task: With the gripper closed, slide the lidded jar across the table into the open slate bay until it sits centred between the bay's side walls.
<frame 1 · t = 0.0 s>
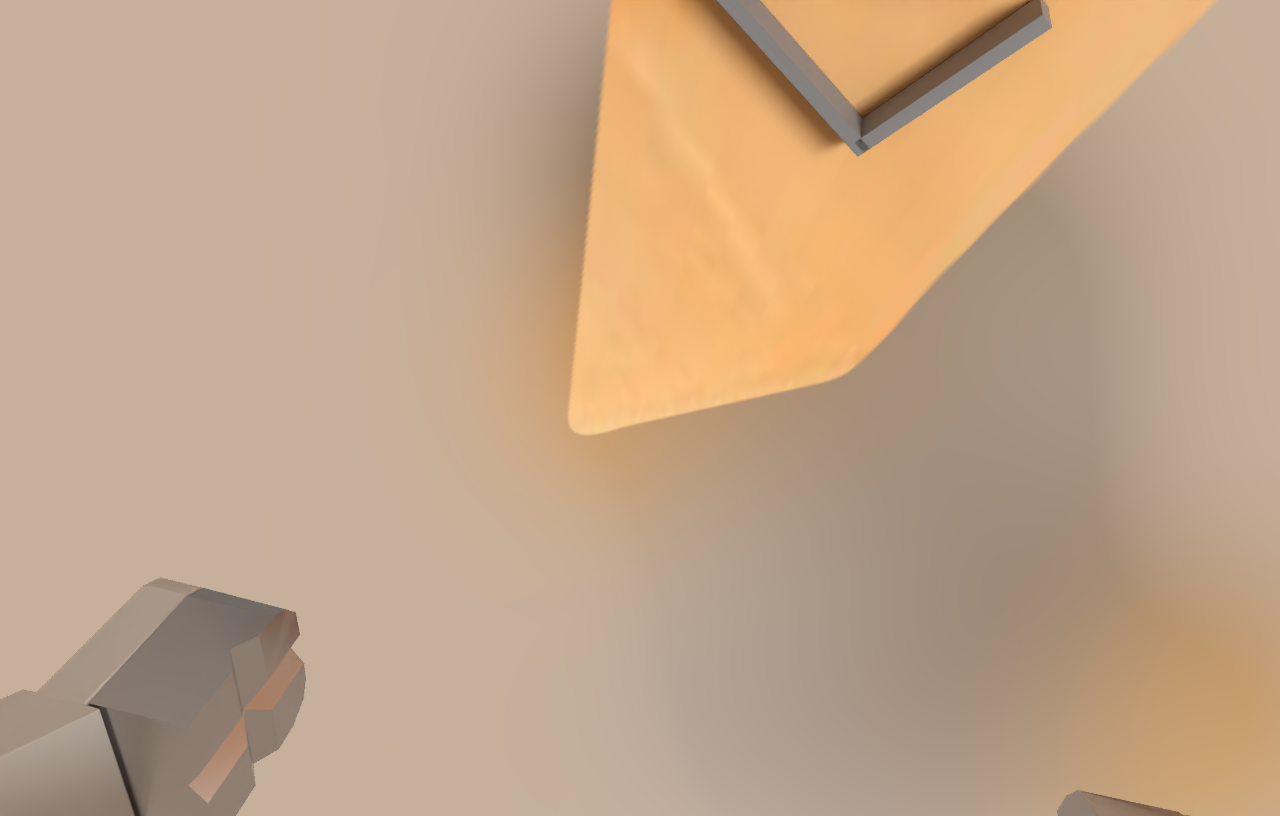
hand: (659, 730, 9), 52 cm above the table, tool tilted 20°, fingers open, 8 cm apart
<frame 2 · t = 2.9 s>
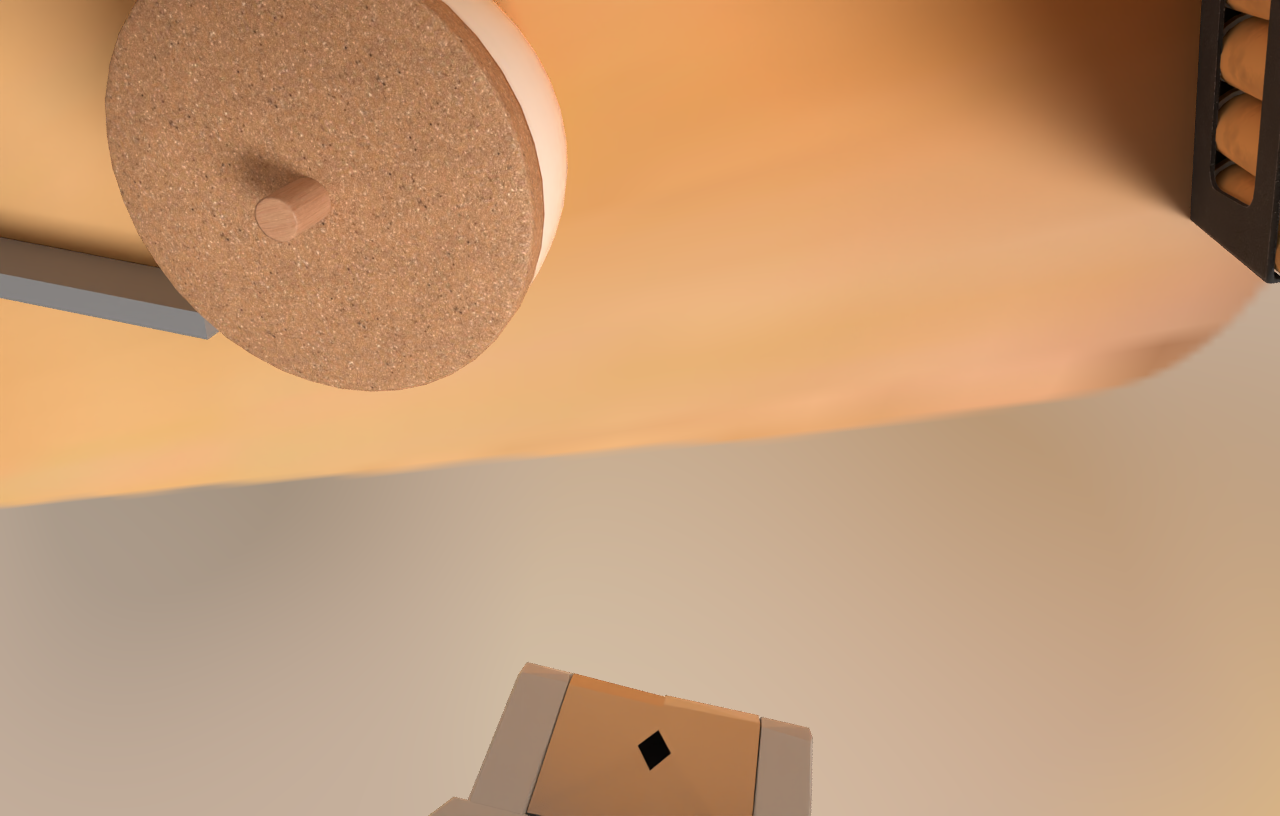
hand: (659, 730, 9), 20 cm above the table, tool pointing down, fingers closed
ammunition clip: (1239, 9, 22), on the table
lidded jar: (442, 119, 27), on the table
slate bay: (31, 52, 28), on the table
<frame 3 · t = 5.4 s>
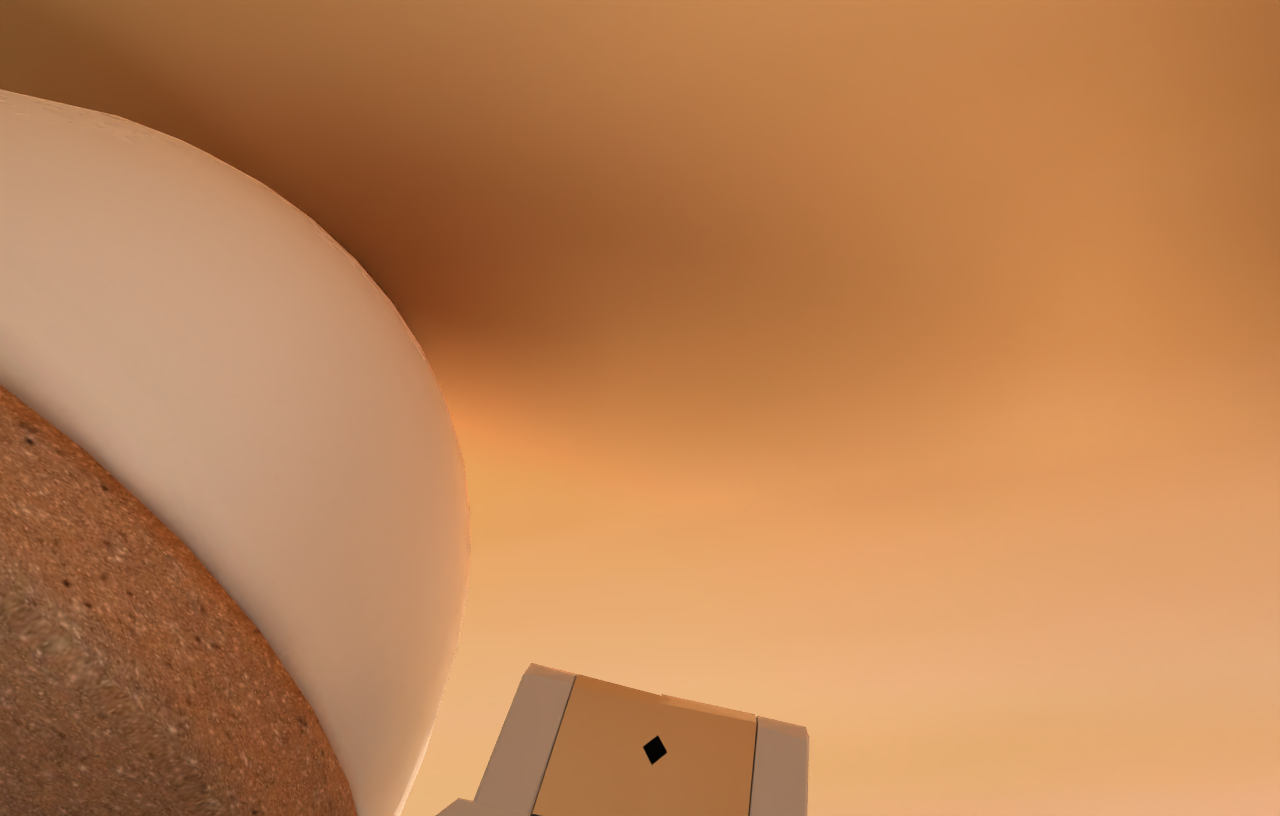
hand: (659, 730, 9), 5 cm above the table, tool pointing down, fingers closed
lidded jar: (250, 365, 14), on the table, touching gripper
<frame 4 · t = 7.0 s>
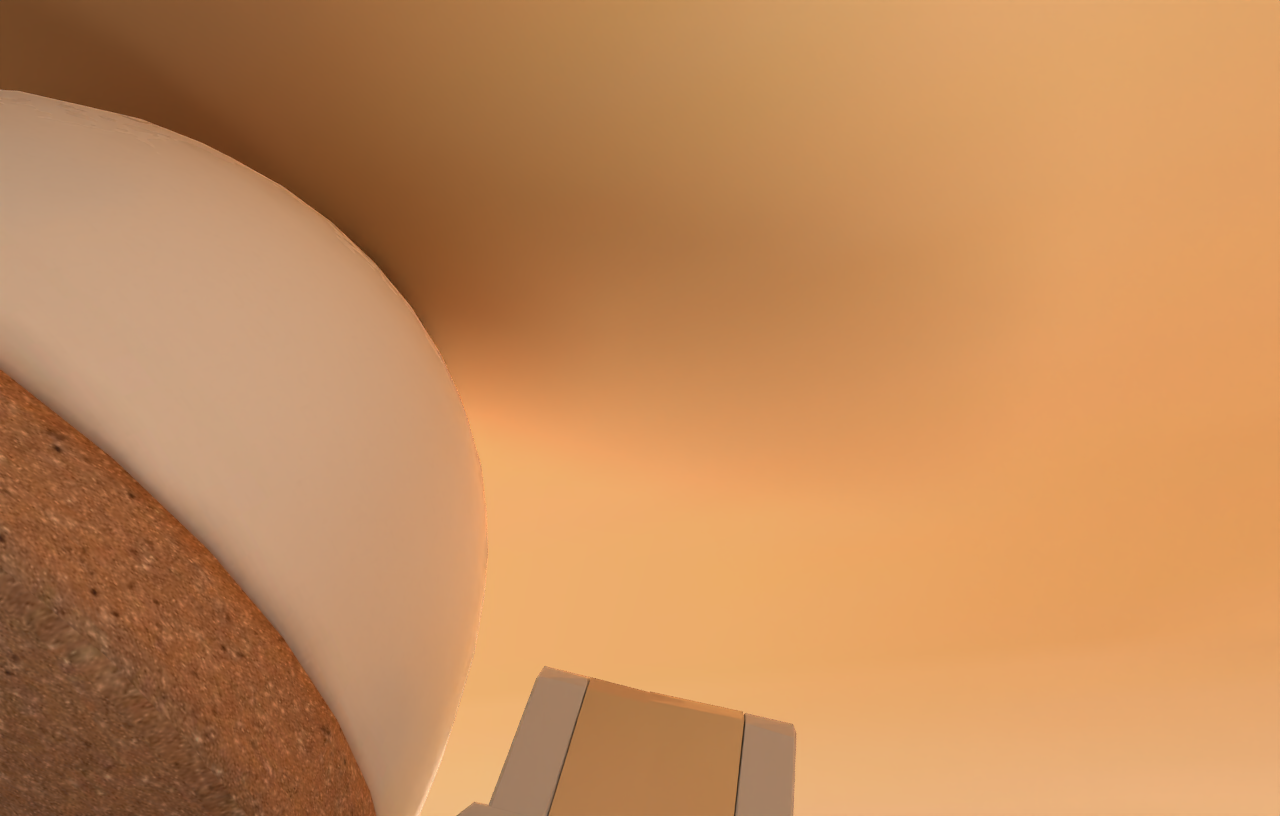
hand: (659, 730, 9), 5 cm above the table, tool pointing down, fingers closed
lidded jar: (266, 366, 14), on the table, touching gripper
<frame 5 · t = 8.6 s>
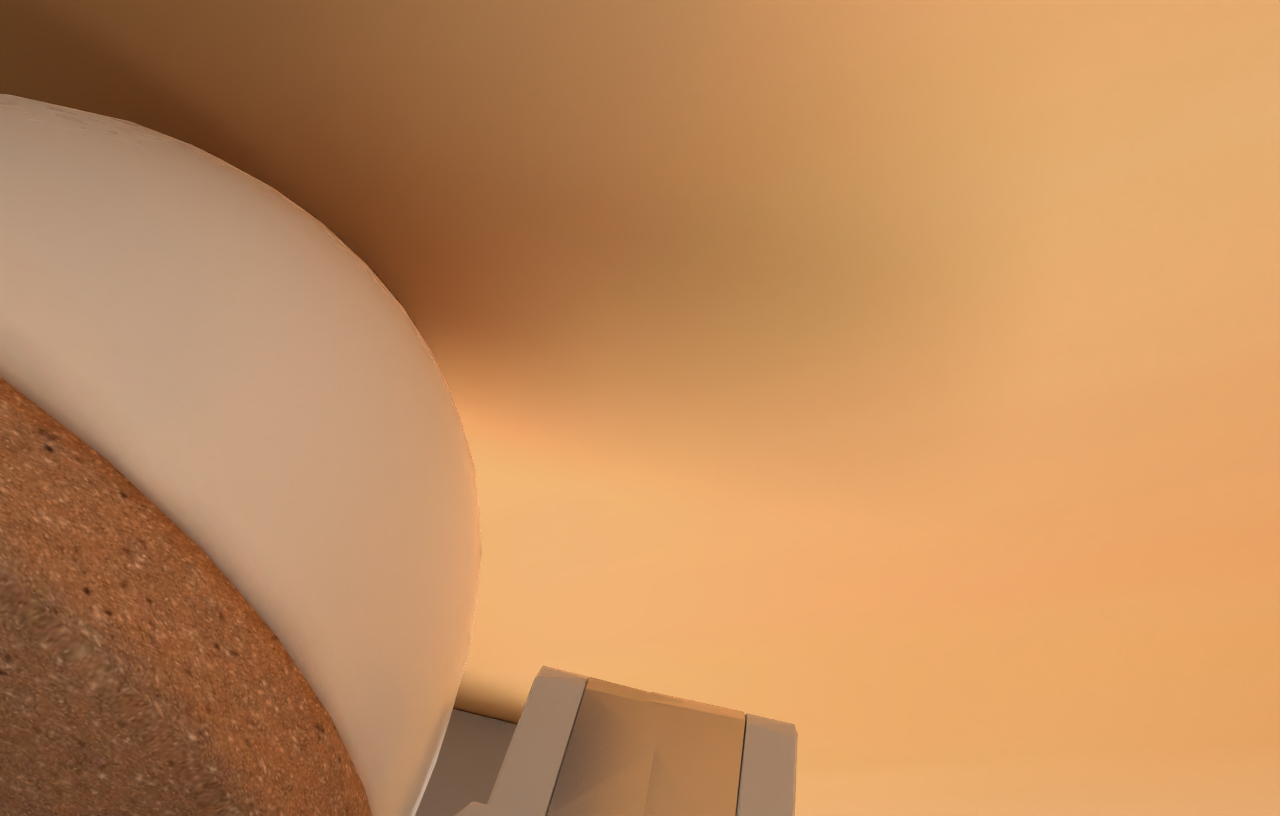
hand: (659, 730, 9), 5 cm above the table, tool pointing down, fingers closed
lidded jar: (258, 369, 14), on the table, touching gripper
slate bay: (262, 370, 14), on the table
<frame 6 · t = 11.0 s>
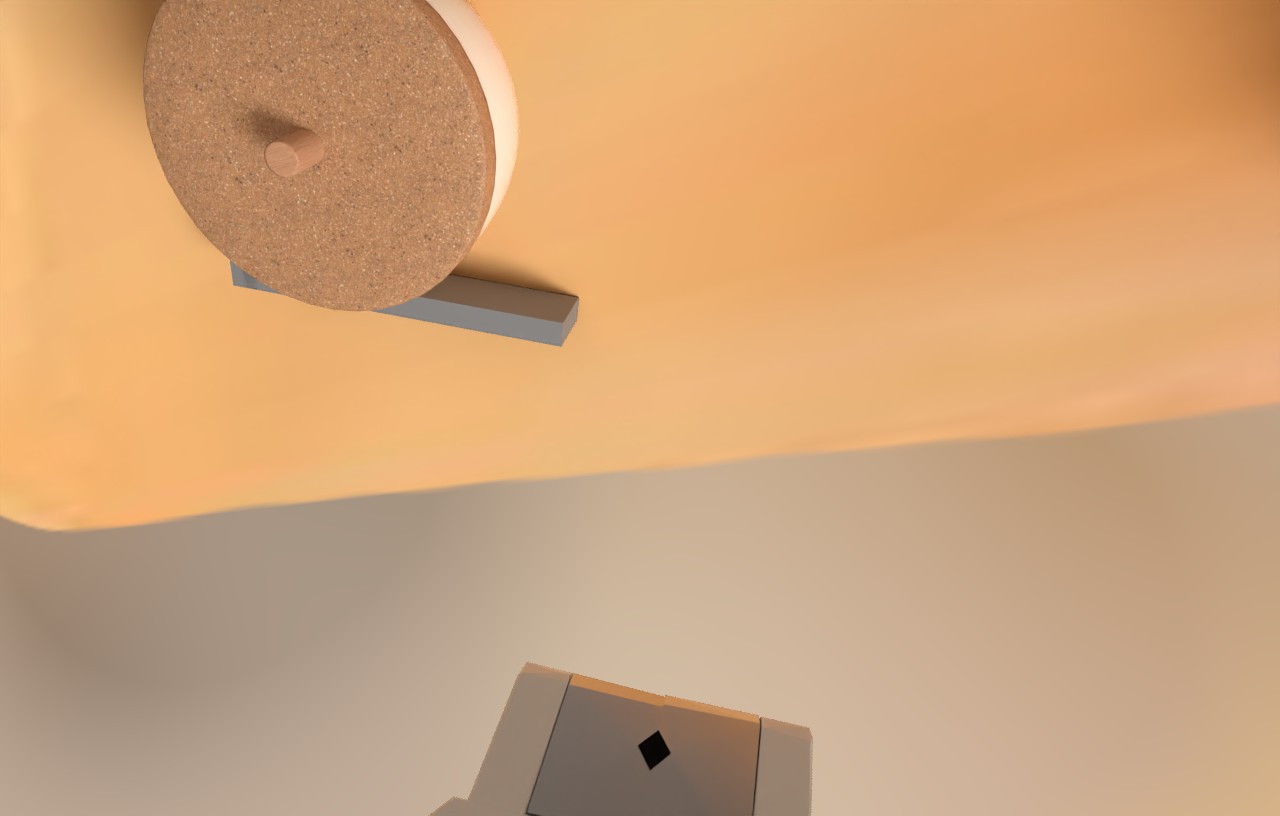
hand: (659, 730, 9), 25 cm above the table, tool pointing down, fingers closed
lidded jar: (418, 94, 32), on the table
slate bay: (421, 92, 32), on the table
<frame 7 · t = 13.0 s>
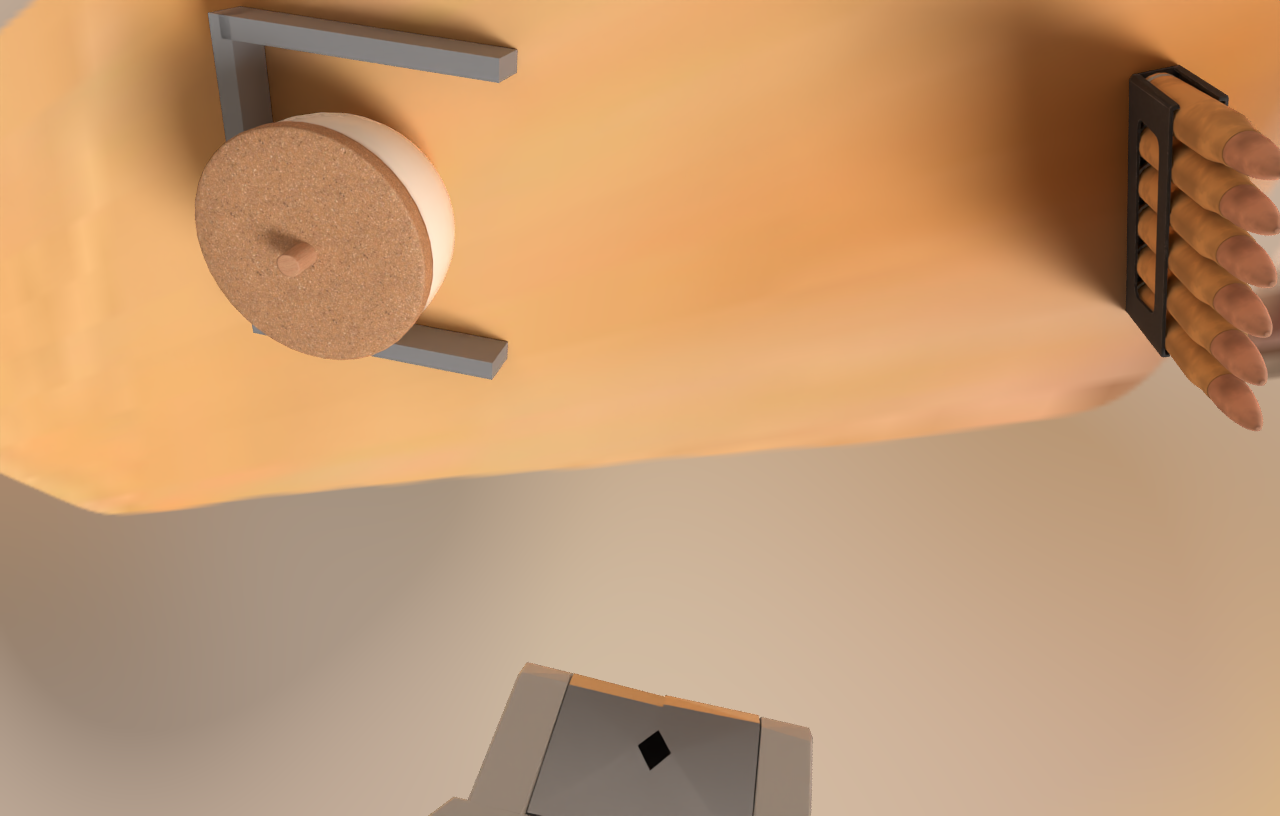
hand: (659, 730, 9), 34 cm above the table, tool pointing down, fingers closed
ammunition clip: (1149, 195, 37), on the table
lidded jar: (386, 197, 44), on the table
slate bay: (389, 197, 44), on the table
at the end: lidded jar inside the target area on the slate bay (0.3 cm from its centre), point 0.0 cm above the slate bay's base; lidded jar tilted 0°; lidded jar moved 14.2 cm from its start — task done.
